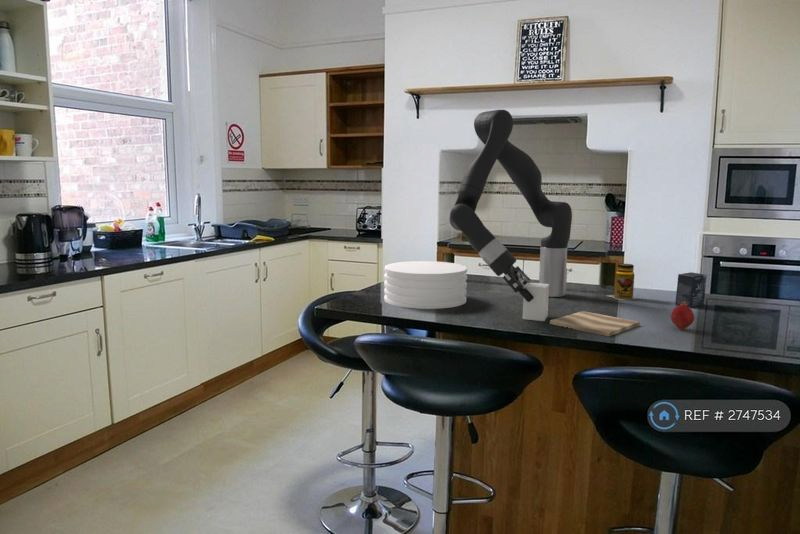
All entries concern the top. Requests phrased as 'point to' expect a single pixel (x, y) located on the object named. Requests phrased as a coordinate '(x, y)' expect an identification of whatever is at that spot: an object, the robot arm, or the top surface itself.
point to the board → (595, 323)
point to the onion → (682, 316)
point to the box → (691, 289)
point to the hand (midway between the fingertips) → (533, 297)
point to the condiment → (624, 282)
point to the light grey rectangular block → (536, 302)
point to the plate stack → (425, 284)
